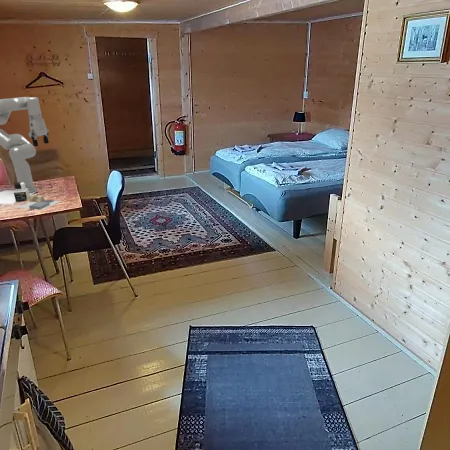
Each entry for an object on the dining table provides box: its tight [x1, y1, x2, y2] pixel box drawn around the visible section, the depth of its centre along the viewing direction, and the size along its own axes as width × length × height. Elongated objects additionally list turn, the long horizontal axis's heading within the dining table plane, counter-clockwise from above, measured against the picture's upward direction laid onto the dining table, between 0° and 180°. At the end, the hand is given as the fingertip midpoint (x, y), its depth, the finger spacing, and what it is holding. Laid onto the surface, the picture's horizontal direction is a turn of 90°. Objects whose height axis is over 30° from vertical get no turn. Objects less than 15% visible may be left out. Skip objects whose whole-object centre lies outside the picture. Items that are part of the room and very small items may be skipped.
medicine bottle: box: [13, 182, 31, 203], centre depth 261 cm, size 7×7×12 cm
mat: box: [16, 200, 61, 210], centre depth 252 cm, size 20×16×1 cm
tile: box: [28, 202, 49, 210], centre depth 247 cm, size 2×8×8 cm
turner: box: [28, 194, 55, 203], centre depth 257 cm, size 16×5×4 cm, turn 72°
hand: (41, 144), depth 263 cm, fingers open, 9 cm apart
